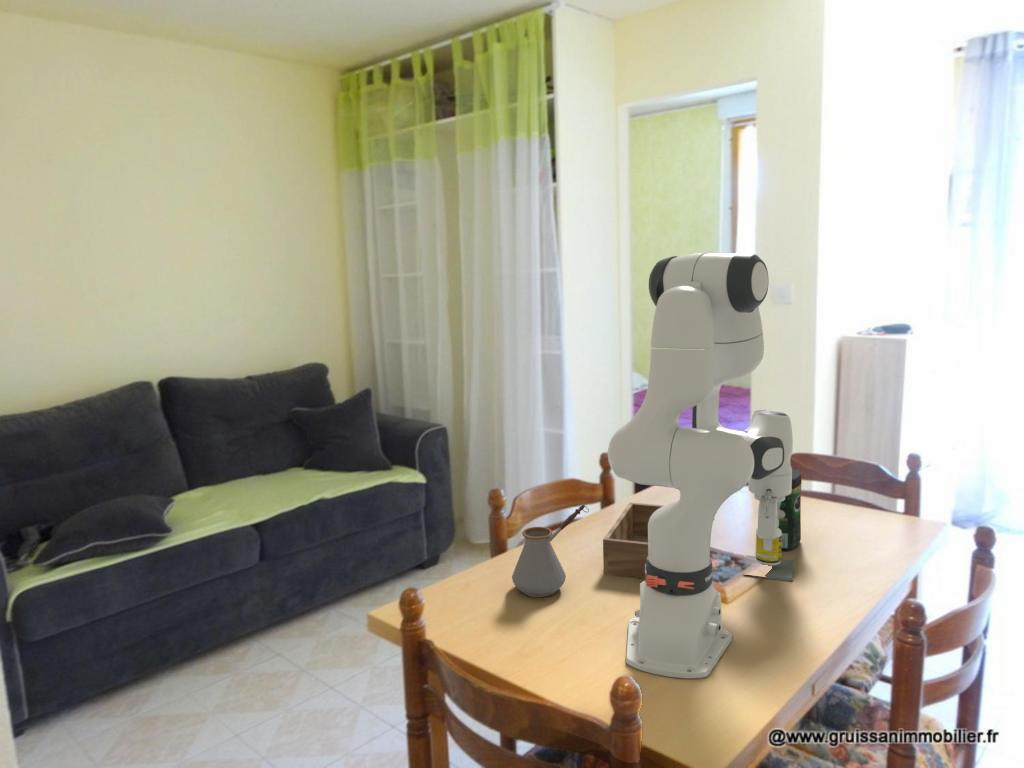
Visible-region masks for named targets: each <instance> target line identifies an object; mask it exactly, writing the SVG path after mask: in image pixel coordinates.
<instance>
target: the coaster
mask: <svg viewBox="0 0 1024 768" xmlns="http://www.w3.org/2000/svg"><path fill="white" fill-rule="evenodd" d="M746 557H748V558H751V559H755V555H746ZM793 574H794V559H785V558H781V563H780V564H778V565H774V566H772V569H771V570H770V571H769V572H768V573H767V574H766V575H765V576H766V577H767V578H766V579H769V580H770V579H771V580H780V581H787V582H793V577H794V576H793Z"/></svg>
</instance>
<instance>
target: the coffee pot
mask: <svg viewBox="0 0 1024 768" xmlns="http://www.w3.org/2000/svg"><path fill="white" fill-rule="evenodd" d="M584 509H586V510H587V511H585V510H584ZM581 511H583V512H584V513H589V512H590V510H589V508H588V507H587V506H586V505H585V504H582V505H580V506H579V507H578V508H576V509H575V510H574V512H573V513H571V514H570V515H569V516H568V517H567V518H566V519H565V520H564V521H563V522H562V523H561V525H560V526H559V527H558V528H557V529H556V530H555V531H554V532H553V530H552V529H550V528H549V527H544V526H531V527H528V528H525V529H524V530H523V531H522V532H521V534H522V535H521V536H523V538H524V540H525V543H524V545H523V547H522V550H521V552H520V555H519V557H518V560H517V562H516V565H515V568H514V571H513V573H512V576H511V579H512V582H513V584H514V586H515V587H516V588H517V589H518V590H519V591H520V592H521V593H522V594H524V595H526V596H528V597H533V598H543V597H549V596H552V595H554V594H556V592H557V591H558V590H559V589H560V588H561V587H562V586H563V585H564V583H565V581H566V572H565V570H564V569H563V566H562V564H561V561H559V558H558V556H557V554H556V552H555V549H554V547H553V545H552V543H551V542H552V541H553V539H554V538H556V537H557V535H558V534H559V533H561V531H563V530H564V529H565V528H566V527H567V526H569V524H571V523H572V522H573V521H574V520H575V518H576V517H577V516H578V515H581Z"/></svg>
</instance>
